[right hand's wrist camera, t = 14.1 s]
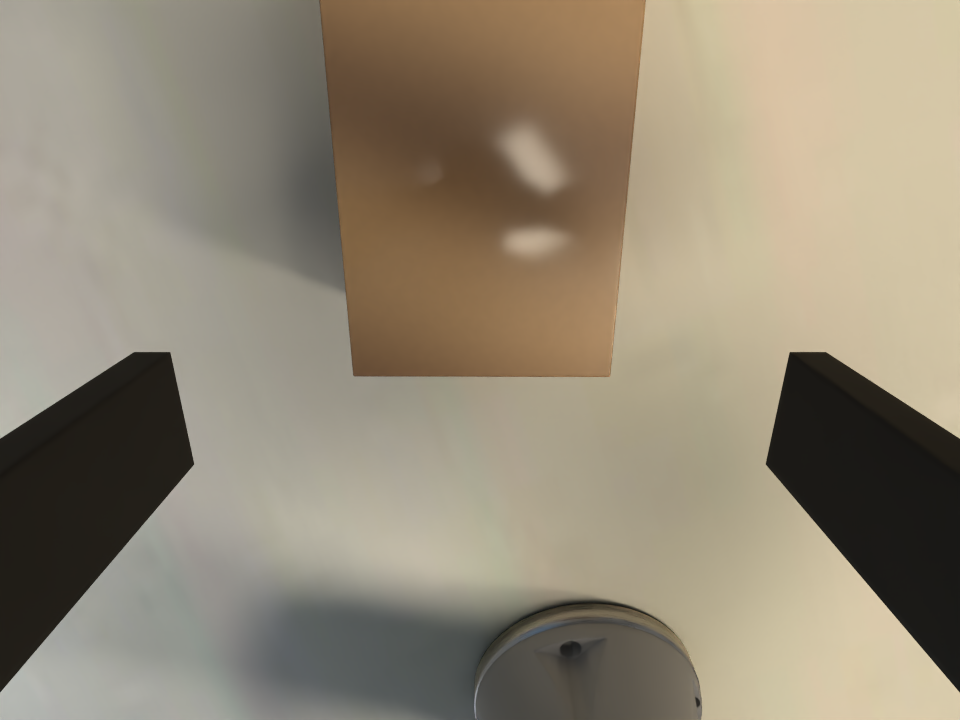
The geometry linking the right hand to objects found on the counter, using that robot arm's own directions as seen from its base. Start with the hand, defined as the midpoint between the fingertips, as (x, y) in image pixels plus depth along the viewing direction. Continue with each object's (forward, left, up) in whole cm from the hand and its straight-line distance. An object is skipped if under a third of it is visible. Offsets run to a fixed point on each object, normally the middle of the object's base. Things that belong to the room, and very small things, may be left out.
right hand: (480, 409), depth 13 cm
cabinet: (+3, -5, -18) cm, 19 cm away
